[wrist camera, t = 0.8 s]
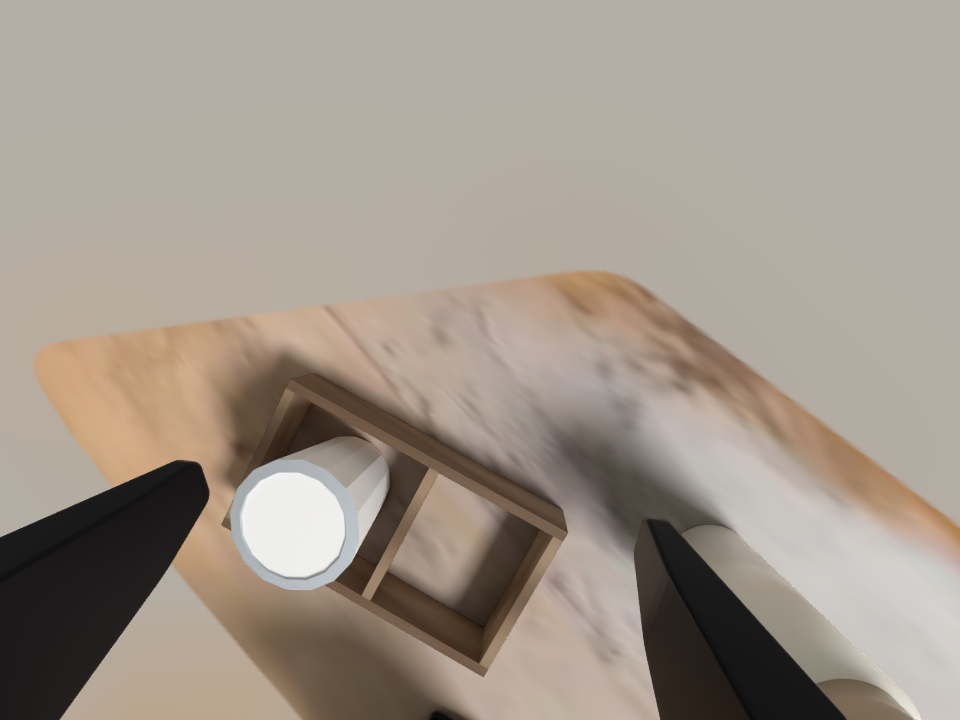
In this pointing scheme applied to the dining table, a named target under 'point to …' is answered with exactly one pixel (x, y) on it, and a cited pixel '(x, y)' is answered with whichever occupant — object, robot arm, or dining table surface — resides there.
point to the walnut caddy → (374, 582)
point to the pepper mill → (802, 629)
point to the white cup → (309, 512)
